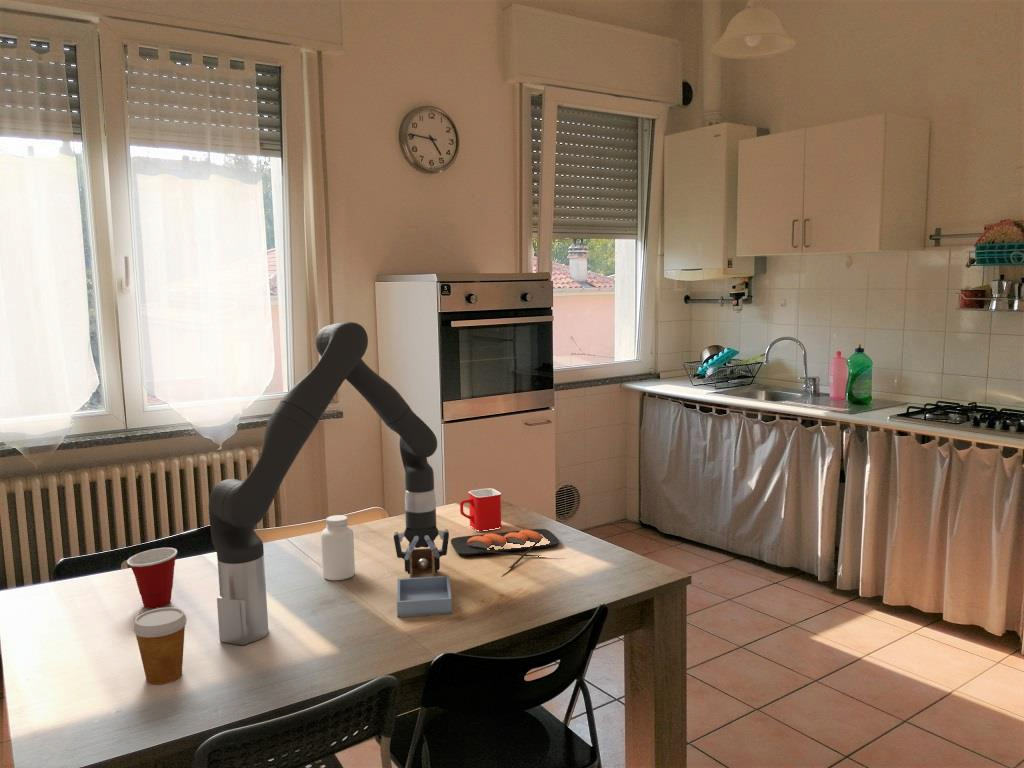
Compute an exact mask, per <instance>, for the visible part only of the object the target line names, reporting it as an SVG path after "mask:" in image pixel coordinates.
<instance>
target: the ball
mask: <svg viewBox="0 0 1024 768" xmlns="http://www.w3.org/2000/svg"><path fill="white" fill-rule="evenodd" d="M428 566H429V562H428V560H427V559H426V558H421V559H419V560H418V562H417V567H418V568H419V569H420V570H425V569H427V568H428Z"/></svg>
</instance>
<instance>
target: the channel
mask: <svg viewBox="0 0 1024 768" xmlns="http://www.w3.org/2000/svg"><path fill="white" fill-rule="evenodd" d="M421 558H426V559H427V560H428V562H429V566H428V568H427V569H425V570H420V569H419V568H418V567H417V562H418V560H419V559H421ZM409 577H410V578H422V577H436V573H435V560H434V554H433V552H432V551H431V549H430V547H426V548H425V547H424V548H414V550H413V552H412V553H411V556H410V574H409Z"/></svg>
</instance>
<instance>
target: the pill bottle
mask: <svg viewBox="0 0 1024 768" xmlns="http://www.w3.org/2000/svg"><path fill="white" fill-rule="evenodd" d="M348 520H349V517H348V516H346V515H342V514H340V515H339V514H337V515H331V516H327V517H326V519H325V522H326V523H325V524H326V525H325V526H326V527H325V528H323V530H322V531H321V535H320V540H321V543H320V544H321V545H320V546H321V560H322V561H321V562H322V564H321V565H322V576H323V578H324V579H326V580H329V581H344V580H347V579H350V578H353V577H354V576H355V573H356V565H355V564H356V562H355V541H354V540H355V539H354V531H353V528H351V527H350V526H348V524H349V521H348Z"/></svg>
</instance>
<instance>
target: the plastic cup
mask: <svg viewBox="0 0 1024 768" xmlns="http://www.w3.org/2000/svg"><path fill="white" fill-rule="evenodd" d="M177 555H178V550H177V548H173V547H159V548H154V549H153V548H152V549H148V550H145V551H142V552H141V551H140V552H139V553H136V554H134V555H132V556H130V557H129V558H128V559H127V560H126V562H127V565H128V566H129V567H130V568H131V570H132V572H133V575H134V578H135V581H136V585H137V588H138V592H139V595H140V596H141V601H142V604H143V606H144V608H145V609H150V610H154V609H158V608H165V607H167V606H168V605H169V604H170V603H171V600H172V592H173V587H174V585H173V584H174V575H175V565H176V557H177Z"/></svg>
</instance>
